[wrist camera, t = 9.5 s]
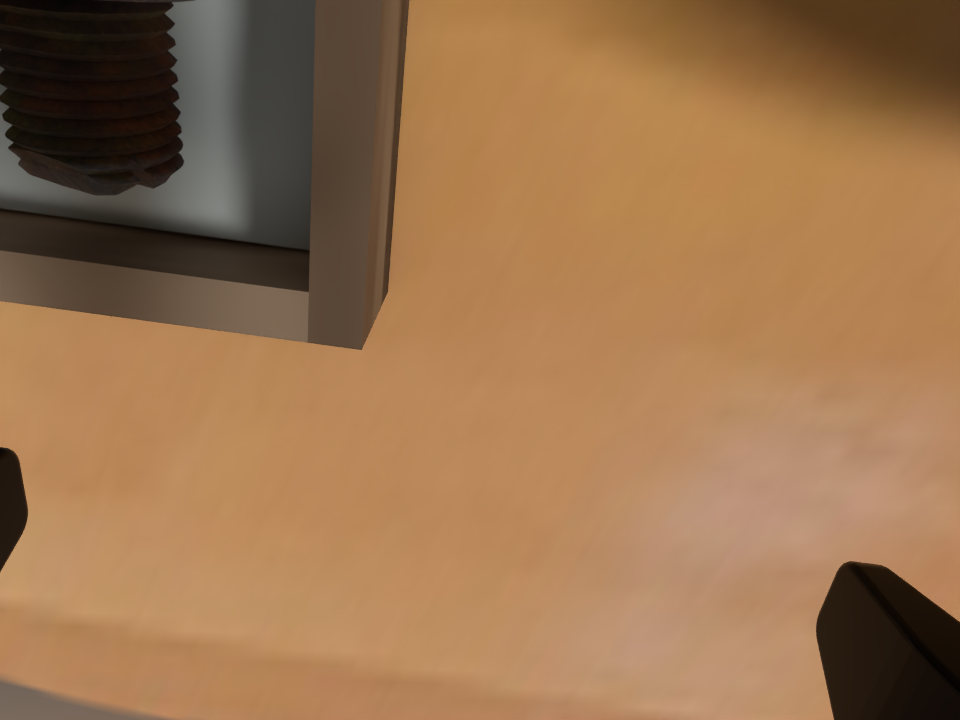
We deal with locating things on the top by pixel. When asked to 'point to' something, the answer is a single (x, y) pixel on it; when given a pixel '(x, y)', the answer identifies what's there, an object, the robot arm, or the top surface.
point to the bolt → (91, 92)
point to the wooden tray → (238, 183)
